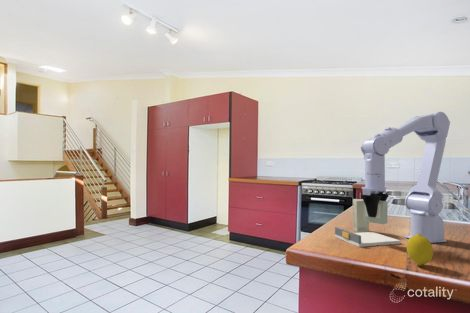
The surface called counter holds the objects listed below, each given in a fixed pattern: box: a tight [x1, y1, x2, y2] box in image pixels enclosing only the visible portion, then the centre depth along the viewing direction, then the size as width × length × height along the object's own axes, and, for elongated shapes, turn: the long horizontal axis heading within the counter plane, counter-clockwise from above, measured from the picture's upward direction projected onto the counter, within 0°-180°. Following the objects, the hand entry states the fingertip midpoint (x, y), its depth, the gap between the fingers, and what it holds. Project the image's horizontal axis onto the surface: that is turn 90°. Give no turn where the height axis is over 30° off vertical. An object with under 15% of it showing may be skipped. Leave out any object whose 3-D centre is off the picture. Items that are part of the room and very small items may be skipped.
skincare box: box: [352, 198, 370, 233], centre depth 104 cm, size 6×4×12 cm
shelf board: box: [334, 226, 401, 248], centre depth 91 cm, size 16×12×3 cm
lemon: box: [406, 234, 434, 267], centre depth 68 cm, size 6×6×8 cm
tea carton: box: [363, 200, 389, 225], centre depth 87 cm, size 4×6×7 cm
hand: (375, 216), depth 87 cm, fingers closed on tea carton, 4 cm apart
